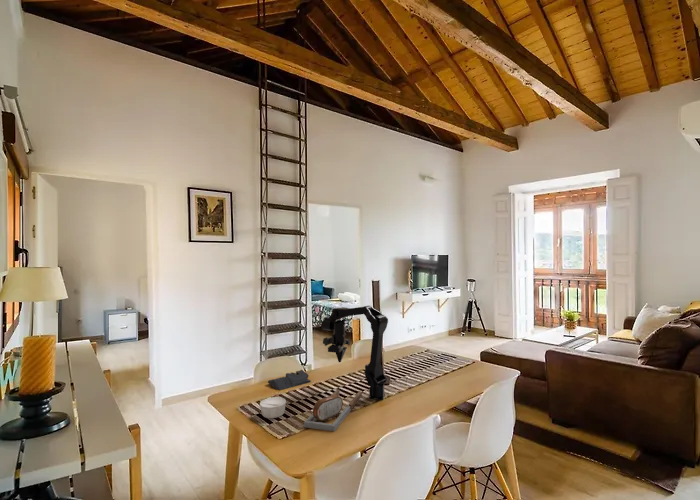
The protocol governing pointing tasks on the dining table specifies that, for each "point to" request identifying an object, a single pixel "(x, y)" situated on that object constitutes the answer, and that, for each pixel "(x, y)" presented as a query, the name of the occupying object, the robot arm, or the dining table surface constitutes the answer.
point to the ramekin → (273, 407)
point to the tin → (327, 407)
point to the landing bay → (326, 426)
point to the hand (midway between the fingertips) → (339, 362)
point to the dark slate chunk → (290, 380)
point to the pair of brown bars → (353, 398)
